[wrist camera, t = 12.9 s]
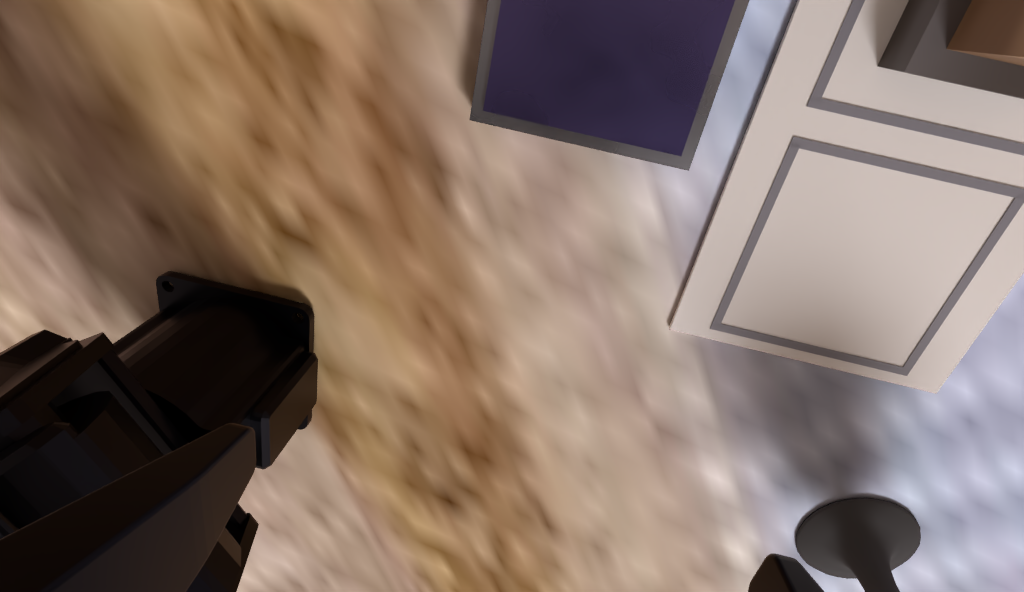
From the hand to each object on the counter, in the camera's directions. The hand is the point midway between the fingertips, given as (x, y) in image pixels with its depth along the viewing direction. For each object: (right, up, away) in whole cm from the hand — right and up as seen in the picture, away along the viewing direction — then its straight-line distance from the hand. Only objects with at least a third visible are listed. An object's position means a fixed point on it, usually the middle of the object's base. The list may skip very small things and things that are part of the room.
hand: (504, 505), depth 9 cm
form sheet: (+12, +8, +7) cm, 17 cm away
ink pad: (+3, +12, +7) cm, 14 cm away
